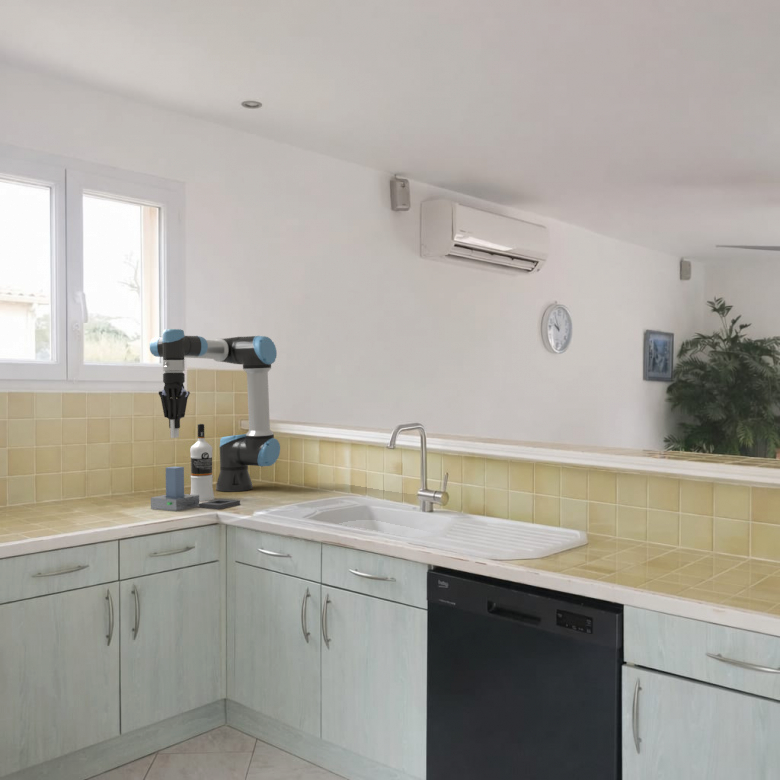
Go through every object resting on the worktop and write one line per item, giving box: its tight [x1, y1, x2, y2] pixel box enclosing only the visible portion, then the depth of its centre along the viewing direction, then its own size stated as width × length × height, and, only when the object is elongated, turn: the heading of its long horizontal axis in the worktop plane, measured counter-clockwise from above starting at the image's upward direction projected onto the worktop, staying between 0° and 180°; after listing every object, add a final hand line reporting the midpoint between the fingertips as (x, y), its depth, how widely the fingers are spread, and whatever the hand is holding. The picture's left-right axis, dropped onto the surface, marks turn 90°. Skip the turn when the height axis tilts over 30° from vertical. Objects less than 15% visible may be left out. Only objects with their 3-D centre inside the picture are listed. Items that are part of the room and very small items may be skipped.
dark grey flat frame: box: [198, 498, 241, 511], centre depth 293 cm, size 12×9×2 cm
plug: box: [165, 465, 185, 498], centre depth 291 cm, size 4×4×14 cm
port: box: [150, 493, 200, 512], centre depth 291 cm, size 13×12×5 cm
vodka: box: [189, 423, 215, 502], centre depth 309 cm, size 9×9×30 cm
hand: (174, 437), depth 291 cm, fingers closed
